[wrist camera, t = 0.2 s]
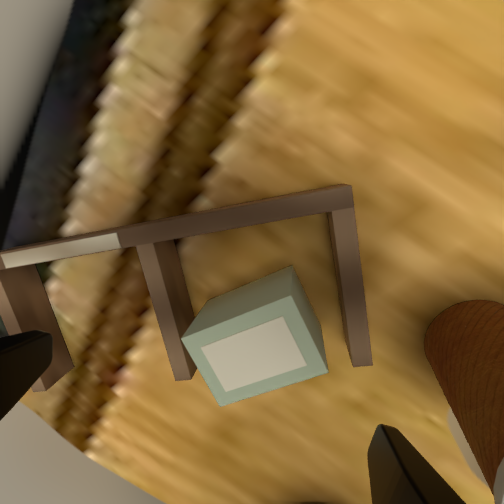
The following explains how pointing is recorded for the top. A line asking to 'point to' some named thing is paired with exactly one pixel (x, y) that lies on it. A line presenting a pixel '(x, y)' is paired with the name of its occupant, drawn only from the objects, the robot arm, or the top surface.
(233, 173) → the top surface
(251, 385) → the frame block
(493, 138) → the top surface
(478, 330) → the disposable coffee cup
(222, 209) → the walnut comb rail
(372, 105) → the top surface
